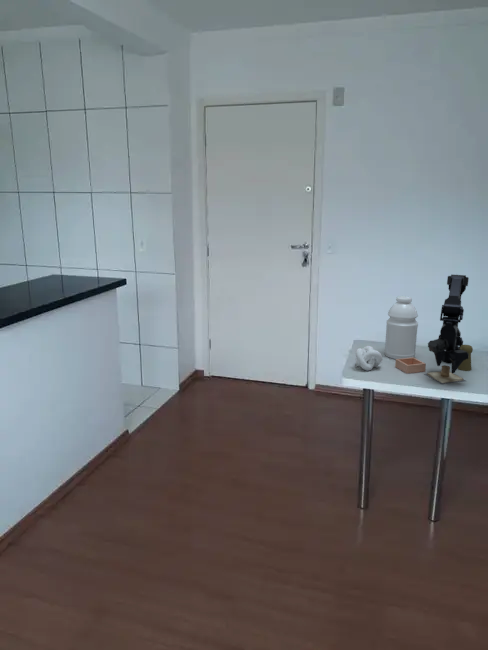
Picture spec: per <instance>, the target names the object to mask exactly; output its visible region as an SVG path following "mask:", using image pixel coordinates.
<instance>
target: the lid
mask: <svg viewBox="0 0 488 650" xmlns="http://www.w3.org/2000/svg"><path fill="white" fill-rule="evenodd" d="M426 374H427V375H428V376H430V377H432V378H434V379H436V380H438V381H439V382H441V383H447V382H455V381H463V379H464V378H462V377H461V376H459V375H457V374H455V373H452V371H451V367H450V366H449V365H446V364H445V365H443V364H442V366H441V371H433V372H432V371H431V372H427V373H426ZM428 376H427V377H428Z"/></svg>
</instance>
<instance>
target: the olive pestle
mask: <svg viewBox="0 0 488 650" xmlns="http://www.w3.org/2000/svg"><path fill="white" fill-rule="evenodd" d="M459 347H460V350H464V351H466V352H468V354H469V357H468V359H466V360H464V361H463V362H462V363H461V364H460V366H459V367H458V368H457V370H458V371H463V372H470V371H472V353H473V351H474V349H473V346H471V345H469V344H463V345H461V346H459Z"/></svg>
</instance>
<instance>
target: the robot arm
mask: <svg viewBox="0 0 488 650" xmlns="http://www.w3.org/2000/svg"><path fill="white" fill-rule="evenodd" d="M469 280H470V279H469V277H468V276H467V275H464V274H451V275H448V276H447V281H446V285H447V286H448V287H447V288H448V291H449V293H448V297H447V298H445V299H444V302H443V304H442V305H441V309H440V317H439V321H441V322H442V326H441V328H440V331H439V333H440V334H439V335H438V338H436V339H433V340H430V341H429V342H428V343H427V347H428V351H430V352H432V353H433V355H434V357H435V361H436V362H435V363H436V365H437V366H438V367H440V366H441V364H442V362H444V363H445V364H451V367H450V372H451V373H453V374H455V373H456V371H457V370H458V369H457V368H458V367H459V366H460V364H461V363H462V362H463V361H464V360H466V359H468V357H469V354H468V352H466V351H464V350H460V346H461V345H464V340H463V338H462V337H461V336H462V335H461V334H462V333H461V331H460V328H459V323H461V321H463V319H464V312H465V310H464V307H463V306H462V295H463V294H464V292H465V291H466V288H467V287H469Z"/></svg>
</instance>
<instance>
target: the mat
mask: <svg viewBox="0 0 488 650" xmlns="http://www.w3.org/2000/svg"><path fill="white" fill-rule="evenodd" d="M423 375H424V376H426V377H428V378H429V379H432V380H433V381H435V382H437V383H439V384H440V385H446V384H448V385H449V384H454V383H463V382H467V380H465V379H464V378H463V381H455V382H447V383H441V382H439V381H438V380H436V379H434V378H432V377H430V376H428V375H427V373H423Z"/></svg>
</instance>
